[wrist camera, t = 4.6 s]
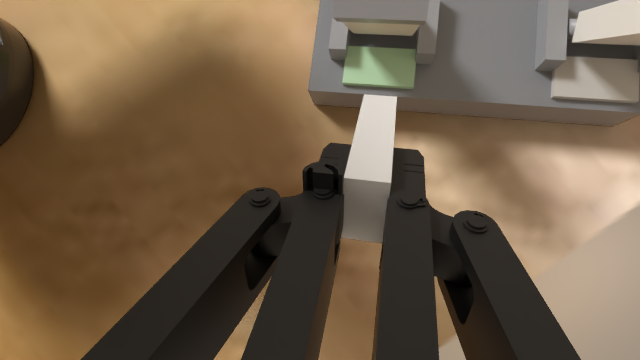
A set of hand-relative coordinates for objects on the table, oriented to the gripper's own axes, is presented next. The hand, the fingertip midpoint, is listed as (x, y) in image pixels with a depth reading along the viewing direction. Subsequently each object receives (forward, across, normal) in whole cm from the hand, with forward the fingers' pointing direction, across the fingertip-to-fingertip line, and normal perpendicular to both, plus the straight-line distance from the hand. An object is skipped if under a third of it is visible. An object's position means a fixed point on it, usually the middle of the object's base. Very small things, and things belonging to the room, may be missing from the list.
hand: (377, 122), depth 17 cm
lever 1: (+12, 0, +2) cm, 12 cm away
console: (+16, +6, 0) cm, 17 cm away
